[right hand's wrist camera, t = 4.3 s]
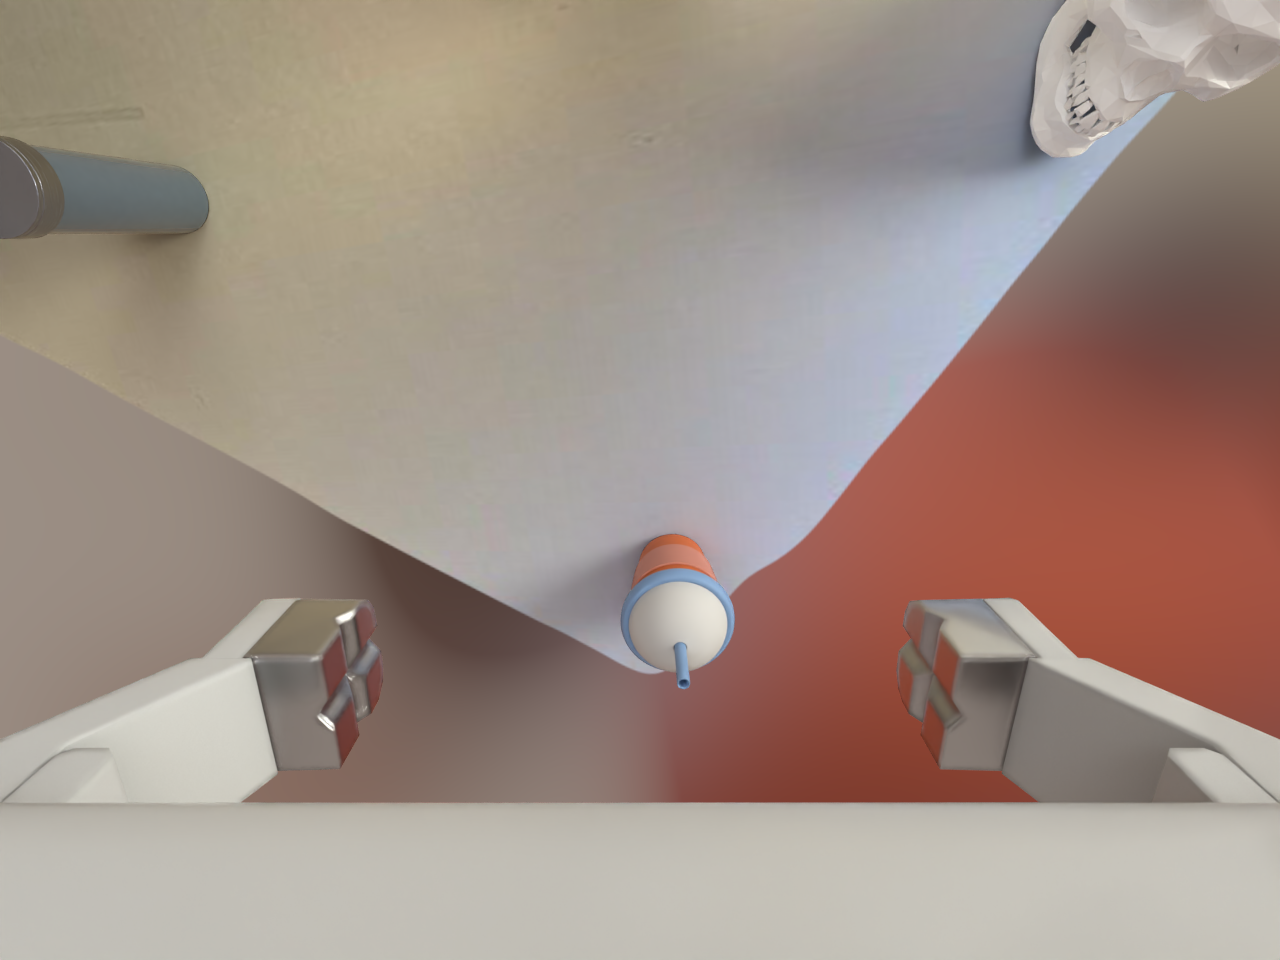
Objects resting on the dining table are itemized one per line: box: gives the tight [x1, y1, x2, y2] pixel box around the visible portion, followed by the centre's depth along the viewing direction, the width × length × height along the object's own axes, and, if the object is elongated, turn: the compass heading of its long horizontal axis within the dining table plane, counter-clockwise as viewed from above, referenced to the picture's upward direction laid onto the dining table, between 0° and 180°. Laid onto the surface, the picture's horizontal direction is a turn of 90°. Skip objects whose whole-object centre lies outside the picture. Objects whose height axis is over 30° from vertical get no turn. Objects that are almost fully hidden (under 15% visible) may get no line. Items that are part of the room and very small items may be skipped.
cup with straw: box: [621, 534, 735, 689], centre depth 55 cm, size 9×9×18 cm
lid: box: [0, 136, 65, 239], centre depth 38 cm, size 5×5×2 cm
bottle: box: [29, 145, 209, 234], centre depth 45 cm, size 5×5×16 cm
